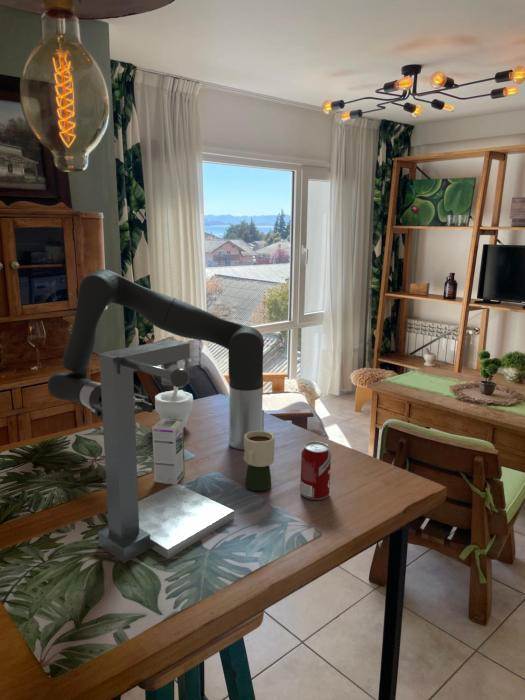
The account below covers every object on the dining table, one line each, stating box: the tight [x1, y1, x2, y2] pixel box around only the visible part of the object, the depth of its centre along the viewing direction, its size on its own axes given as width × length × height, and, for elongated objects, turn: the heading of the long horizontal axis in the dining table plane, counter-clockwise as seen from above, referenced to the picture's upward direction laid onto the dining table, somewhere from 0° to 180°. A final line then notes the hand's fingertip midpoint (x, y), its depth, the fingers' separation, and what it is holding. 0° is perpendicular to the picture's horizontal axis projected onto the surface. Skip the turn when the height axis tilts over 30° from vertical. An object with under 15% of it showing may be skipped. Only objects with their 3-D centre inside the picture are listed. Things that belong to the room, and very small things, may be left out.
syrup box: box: [151, 418, 186, 485], centre depth 125 cm, size 6×6×14 cm
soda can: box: [299, 441, 332, 501], centre depth 119 cm, size 7×7×12 cm
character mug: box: [243, 430, 276, 491], centre depth 122 cm, size 11×7×13 cm, turn 157°
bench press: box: [97, 338, 235, 564], centre depth 99 cm, size 24×27×38 cm
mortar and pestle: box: [154, 357, 194, 429], centre depth 156 cm, size 13×12×25 cm
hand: (138, 412), depth 130 cm, fingers open, 8 cm apart
